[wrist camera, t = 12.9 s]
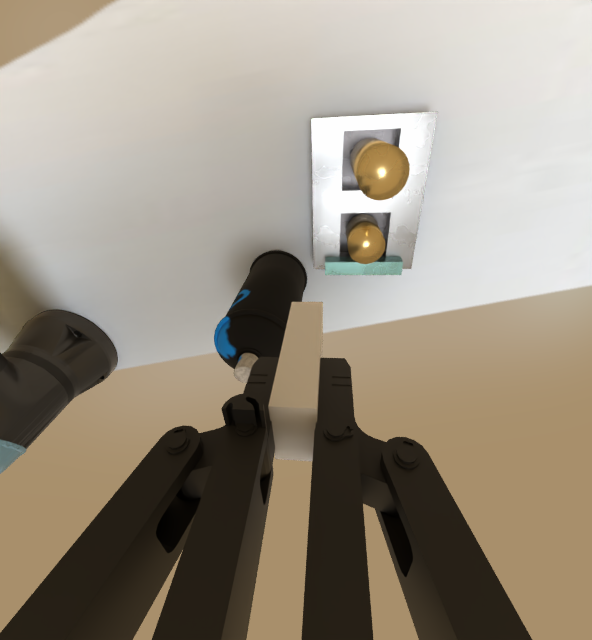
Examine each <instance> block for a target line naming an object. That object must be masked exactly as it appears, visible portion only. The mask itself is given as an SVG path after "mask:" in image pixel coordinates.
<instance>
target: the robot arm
mask: <svg viewBox="0 0 592 640" xmlns="http://www.w3.org/2000/svg"><path fill="white" fill-rule="evenodd" d="M322 335H323V302H292V304H291V308H290V312H289V317H288V321H287V326H286V330H285V335H284V339H283V343H282V348H281V352H280V357H259V359H258V360H257V361H256V362H255V363H254V364H253V365H252V368H251V371H250V376H249V377H248V380H247V384H246V387H245V390H244V393H243V394H239V395H236V396H234V397H232V398H230V399H229V400H228V401H227V402H226V403H225V404H224V405H223V407H222V413H223V416H224V420H225V424H226V425H225V426H223V427H221V428H219V429H215V430H211V431H207V432H203V433H198V431H197V429H195V428H193V427H191V426H180V427H175V428H174V429H172V430H170V431H168V432H167V433H166V434H165V435H163V436H162V437H161V438H160V439H159V441H158V442H157V443H156V445H155V446H154V447H153V448H152V449H151V450H150V452H149V453H148V454H147V455H146V457H145V458H144V459H143V460H142V461H141V463H140V464H139V465H138V466H137V467H136V469H135V470H134V471H133V472H132V474H131V475H130V476H129V477H128V478H127V480H126V481H125V482H124V483H123V485H122V486H121V487H120V488H119V489H118V491H117V492H116V493H115V494H114V495H113V497H112V498H111V499H110V500H109V501H108V503H107V504H106V505H105V506H104V508H103V509H102V510H101V511H100V513H99V514H98V515H97V516H96V517H95V519H94V520H93V521H92V522H91V523H90V525H89V526H88V527H87V528H86V529H85V531H84V532H83V533H82V534H81V536H80V537H79V538H78V539H77V541H76V542H75V543H74V544H73V545H72V547H71V548H70V549H69V550H68V551H67V553H66V554H65V555H64V556H63V557H62V559H61V560H60V561H59V562H58V564H57V565H56V566H55V567H54V568H53V570H52V571H51V572H50V573H49V574H48V576H47V577H46V578H45V579H44V581H43V582H42V583H41V584H40V585H39V587H38V588H37V589H36V590H35V592H34V593H33V594H32V595H31V596H30V598H29V599H28V600H27V601H26V602H25V604H24V605H23V606H22V607H21V608H20V610H19V611H18V612H17V613H16V615H15V616H14V617H13V618H12V619H11V621H10V622H9V623H8V624H7V626H6V627H5V628H4V629H3V630H2V632H1V633H0V640H133V638H134V636H135V634H136V632H137V631H138V629H139V627H140V625H141V624H142V622H143V620H144V618H145V616H146V615H147V612H148V611H149V609H150V607H151V606H152V604H153V602H154V600H155V598H156V597H157V595H158V593H159V591H160V590H161V588H162V586H163V584H164V582H165V581H166V579H167V577H168V575H169V573H170V571H171V570H172V568H173V566H174V564H175V563H176V561H177V559H178V557H179V555H180V554H181V552H182V550H183V552H182V554H181V557H180V560H179V563H178V566H177V568H176V571H175V575H174V577H173V580H172V583H171V586H170V589H169V591H168V594H167V597H166V600H165V603H164V606H163V609H162V612H161V615H160V617H159V620H158V623H157V626H156V629H155V632H154V635H153V638H152V640H246V637H247V631H248V625H249V619H250V613H251V607H252V601H253V595H254V589H255V583H256V577H257V570H258V565H259V558H260V552H261V546H262V540H263V534H264V528H265V522H266V516H267V510H268V503H269V498H270V492H271V486H272V480H273V466H272V464H273V458H274V452H275V458H276V459H284V460H300V461H313V462H312V479H311V495H310V513H309V529H308V545H307V560H306V576H305V592H304V609H303V610H304V611H303V626H302V640H373V630H372V617H371V605H370V592H369V578H368V566H367V552H366V539H365V526H364V514H363V504H366V505H368V506H370V507H373V508H375V510H376V513H377V516H378V519H379V522H380V525H381V528H382V531H383V534H384V537H385V540H386V543H387V546H388V549H389V552H390V555H391V558H392V561H393V563H394V567H395V570H396V573H397V576H398V578H399V582H400V584H401V587H402V590H403V593H404V596H405V599H406V602H407V605H408V608H409V611H410V614H411V617H412V620H413V623H414V626H415V629H416V632H417V635H418V638H419V640H532V639H531V637H530V635H529V633H528V631H527V630H526V628H525V626H524V625H523V623H522V621H521V619H520V617H519V615H518V614H517V612H516V610H515V608H514V606H513V605H512V603H511V601H510V599H509V598H508V596H507V594H506V592H505V590H504V588H503V587H502V585H501V583H500V581H499V579H498V578H497V576H496V574H495V572H494V571H493V569H492V567H491V565H490V563H489V562H488V560H487V558H486V556H485V554H484V553H483V551H482V549H481V547H480V545H479V544H478V542H477V540H476V538H475V537H474V535H473V533H472V531H471V529H470V528H469V526H468V524H467V522H466V520H465V519H464V517H463V515H462V513H461V511H460V510H459V508H458V506H457V504H456V502H455V501H454V499H453V497H452V495H451V493H450V492H449V490H448V488H447V486H446V484H445V483H444V481H443V479H442V478H441V476H440V474H439V472H438V470H437V468H436V467H435V465H434V463H433V461H432V459H431V458H430V456H429V454H428V453H427V451H426V450H425V449H424V448H423V446H422V445H420V444H419V443H417V442H416V441H414V440H412V439H409V438H406V437H395V438H392V439H389V440H388V441H387V442H384V441H381V440H378V439H375V438H373V437H371V436H368V435H367V434H365V433H364V432H363V431H362V430H361V429H360V428H359V427H358V426H357V424H356V422H355V418H354V407H353V394H352V381H351V368H350V366H349V364H348V363H347V361H346V360H345V359H344V358H322V347H323V346H322V345H323V343H322V342H323V341H322V340H323V336H322ZM116 365H117V354H116V350H115V348H114V346H113V344H112V342H111V341H110V339H109V338H108V337H107V336H106V335H105V334H104V332H103V331H101V330H100V329H99V328H98V327H97V326H96V325H94V324H93V323H91V322H90V321H88V320H86V319H85V318H83V317H80V316H78V315H76V314H73V313H70V312H66V311H60V310H49V311H45V312H42V313H40V314H38V315H37V316H35V317H34V318H32V319H31V320H29V321H28V322H27V323H26V324H25V325H24V326H23V328H22V330H21V331H20V333H19V334H18V335H17V337H16V338H15V339H14V341H13V342H12V344H11V345H10V346H9V348H8V349H7V350H6V351H5V352H4V353H3V354H1V353H0V474H1V473H2V472H3V471H4V470H6V469H7V468H8V467H9V466H10V465H11V464H12V463H13V462H14V461H15V460H16V459H17V458H18V457H19V456H21V455H22V454H24V453H25V452H26V449H27V448H28V447H29V446H30V445H31V444H32V442H33V441H34V440H35V439H36V438H37V437H38V436H39V435H40V434H41V433H42V432H43V431H44V430H45V428H46V427H47V426H48V425H49V424H50V423H51V422H52V421H53V420H54V419H55V418H56V417H57V416H58V414H59V413H60V412H61V411H62V410H63V409H64V408H65V407H66V406H67V405H68V404H69V402H70V401H71V400H72V399H73V398H74V397H76V396H78V395H79V394H81V393H83V392H85V391H87V390H88V389H90V388H92V387H94V386H95V385H97V384H99V383H101V382H102V381H103V380H105V379H106V378H107V377H108V376H109V375H110V374H111V373H112V371H113V370H114V369H115V367H116Z"/></svg>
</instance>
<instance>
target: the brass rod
mask: <svg viewBox="0 0 592 640" xmlns="http://www.w3.org/2000/svg"><path fill="white" fill-rule="evenodd" d="M350 164H351V168H352V170H353V173H354V175H355V178H356V180H357V183H358V185H359V188H360V190H361V191H362V192H363V194H364V195H365V196H367V197H368V198H370V199H373V200H379V201H381V200H387V199H390V198H392V197H394V196H395V195H397V194H398V193H399V192H400V191H401V190H402V189H403V187H404V186H405V184H406V182H407V180H408V177H409V171H410V166H409V161H408V158H407V156H406V154H405V153H404V152H403V151H402V150H401V149H400V148H398V147H397V146H394V145H392V144H389V143H386V142H384V141H381V140H379V139H376V138H365V139H363V140H361V141H359V142H358V143H357V144H356V145H355V147H354V148H353V150H352V152H351V156H350Z"/></svg>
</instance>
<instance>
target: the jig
mask: <svg viewBox="0 0 592 640" xmlns="http://www.w3.org/2000/svg"><path fill="white" fill-rule="evenodd" d="M437 114H438V112H420V113H402V114H384V115H366V116H348V117H330V118H312V119H311V122H312V191H313V260H314V269H325V275H401V273H402V269H411V266H412V260H413V254H414V249H415V243H416V237H417V231H418V225H419V219H420V213H421V208H422V202H423V196H424V190H425V184H426V178H427V172H428V167H429V161H430V155H431V149H432V143H433V137H434V131H435V126H436V120H437ZM365 138H376V139H379V140H381V141H384V142H386V143H389V144H392V145H394V146H397V147H398V148H400V149H401V150H402V151H403V152H404V153H405V154H406V156H407V158H408V161H409V166H410V171H409V177H408V180H407V182H406V184H405V186H404V187H403V189H402V190H401V191H400V192H399V193H398V194H397V195H395V196H394V197H392V198H390V199H387V200H381V201H379V200H373V199H370V198H368V197H367V196H365V195H364V194H363V192H362V191H361V190H360V188H359V185H358V183H357V180H356V178H355V175H354V173H353V170H352V168H351V164H350V156H351V152H352V150H353V148H354V147H355V145H356V144H357V143H358V142H359V141H361V140H363V139H365Z"/></svg>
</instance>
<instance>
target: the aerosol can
mask: <svg viewBox="0 0 592 640" xmlns="http://www.w3.org/2000/svg"><path fill="white" fill-rule="evenodd" d="M306 284H307V275H306V271H305V269H304V267H303V265H302V263H301V262H300V261H299V260H298V259H297V258H296V257H294V256H293V255H291V254H289V253H286V252H283V251H269V252H266V253H264V254H262V255H260V256H259V257H258V258H256V259H255V261H254V262H253V263H252V266H251V268H250V273H249V275H248V277H247V278H246V280H245V282H244V284H243V286H242V287H241V289H240V291H239V293H238V295H237V297H236V298H235V300H234V302H233V304H232V306H231V307H230V309H229V311H228V313H227V315H226V316H225V317H224V318H223V319H222V320H221V321H220V322H219V324H218V325H217V328H216V330H215V335H214V342H215V346H216V349H217V352H218V353H219V355H220V356H221V358H222V359H223V360H224V361H225V362H226V363H227V364H228V365H229V366H231V367H232V368H234V369H235V370H234V376H235V378H236V379H238V380H239V381H241V382H245V383H247V380H248V377H249V376H250V371H251V368H252V365H253V364H254V363H255V362H256V361H257V360H258V359H259V357H280V352H281V348H282V343H283V339H284V335H285V330H286V326H287V321H288V317H289V312H290V308H291V304H292V302H302V296H303V292H304V290H305V287H306Z"/></svg>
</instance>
